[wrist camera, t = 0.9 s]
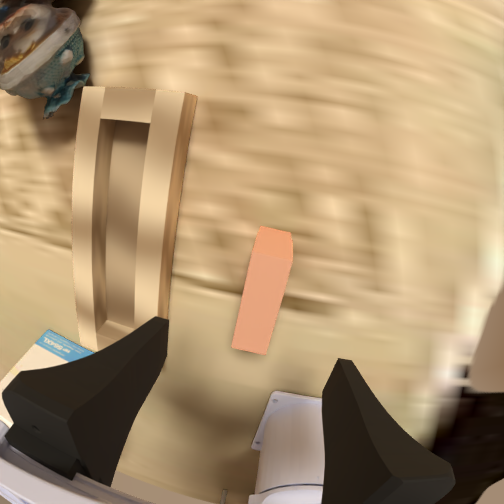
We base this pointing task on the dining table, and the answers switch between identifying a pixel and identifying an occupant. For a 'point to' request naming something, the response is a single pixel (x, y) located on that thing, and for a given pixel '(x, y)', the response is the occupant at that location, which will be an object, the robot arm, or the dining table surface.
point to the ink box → (42, 361)
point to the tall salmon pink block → (263, 290)
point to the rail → (126, 206)
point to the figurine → (40, 51)
